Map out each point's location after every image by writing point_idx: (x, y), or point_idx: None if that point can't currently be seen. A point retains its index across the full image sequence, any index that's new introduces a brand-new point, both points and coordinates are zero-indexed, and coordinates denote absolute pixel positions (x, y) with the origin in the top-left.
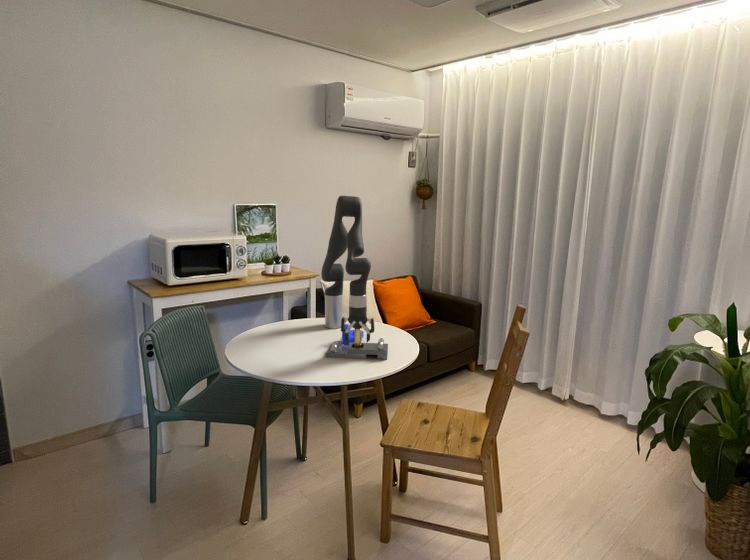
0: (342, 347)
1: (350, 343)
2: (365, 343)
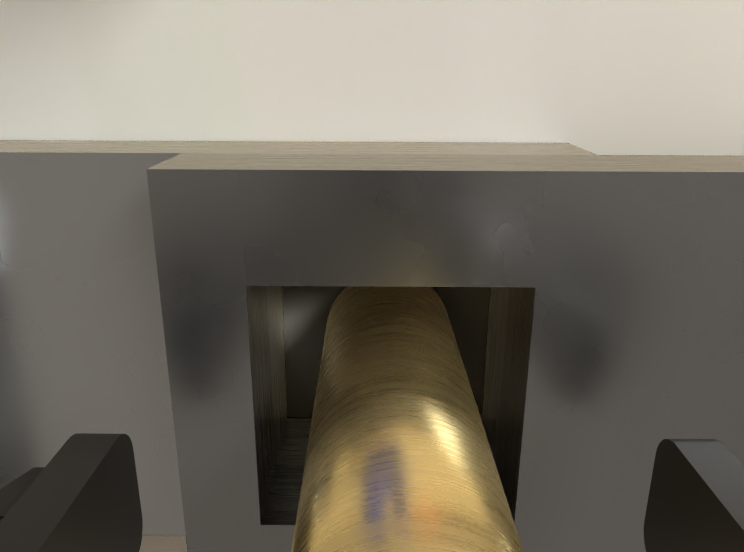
0: (40, 230)
1: (189, 266)
2: (577, 226)
